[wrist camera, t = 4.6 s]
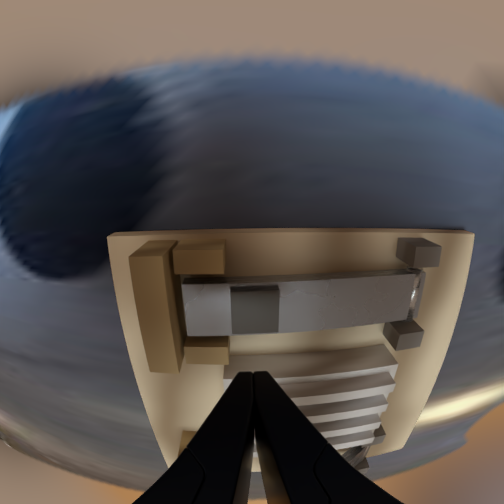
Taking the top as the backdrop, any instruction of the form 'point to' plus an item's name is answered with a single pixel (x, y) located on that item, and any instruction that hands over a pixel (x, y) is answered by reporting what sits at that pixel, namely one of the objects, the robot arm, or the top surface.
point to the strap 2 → (356, 454)
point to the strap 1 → (300, 301)
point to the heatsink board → (288, 344)
